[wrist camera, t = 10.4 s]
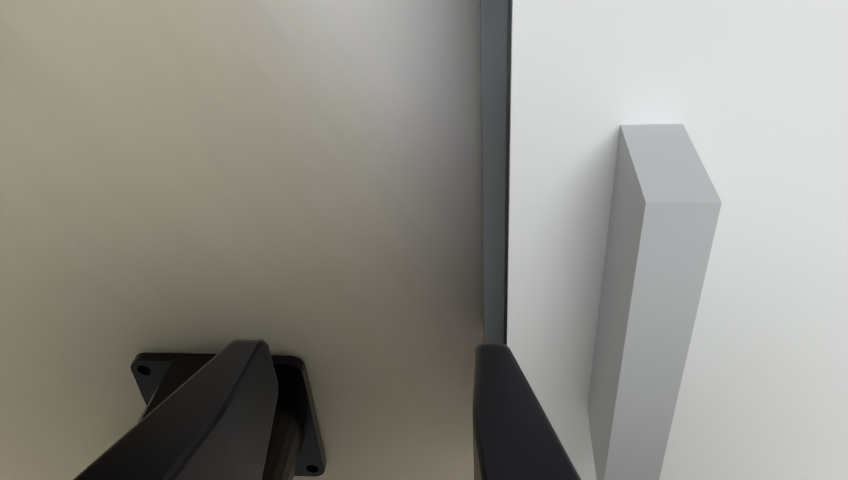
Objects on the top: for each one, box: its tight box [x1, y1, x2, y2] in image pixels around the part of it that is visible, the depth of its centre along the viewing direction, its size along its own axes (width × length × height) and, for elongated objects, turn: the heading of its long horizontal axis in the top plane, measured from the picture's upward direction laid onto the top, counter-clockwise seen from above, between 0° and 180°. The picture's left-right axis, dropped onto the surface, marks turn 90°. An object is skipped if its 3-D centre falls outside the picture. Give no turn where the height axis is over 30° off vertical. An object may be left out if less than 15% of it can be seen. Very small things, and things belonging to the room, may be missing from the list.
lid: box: [507, 0, 848, 480], centre depth 12 cm, size 13×12×3 cm
